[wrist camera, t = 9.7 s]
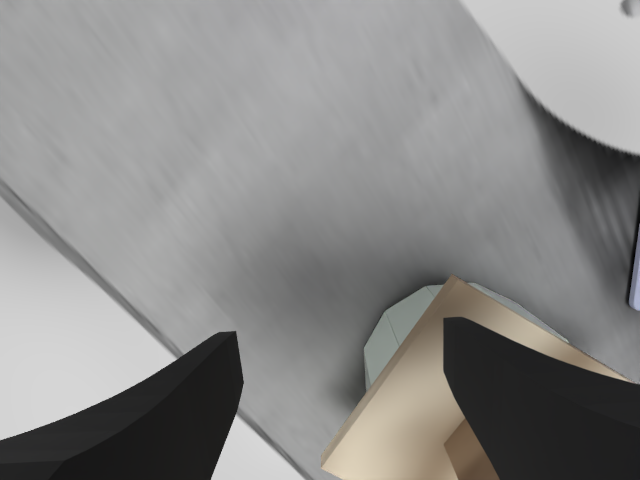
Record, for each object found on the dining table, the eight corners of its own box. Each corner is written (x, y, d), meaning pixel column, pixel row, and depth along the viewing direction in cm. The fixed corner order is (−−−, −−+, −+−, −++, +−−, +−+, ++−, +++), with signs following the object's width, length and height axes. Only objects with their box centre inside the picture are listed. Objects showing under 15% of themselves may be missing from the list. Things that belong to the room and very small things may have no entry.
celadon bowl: (536, 275, 21) (601, 309, 16) (526, 424, 23) (579, 495, 18) (359, 287, 21) (369, 324, 16) (367, 433, 23) (378, 504, 18)
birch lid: (648, 390, 17) (774, 479, 12) (500, 545, 19) (557, 670, 14) (451, 273, 15) (506, 321, 11) (321, 455, 18) (319, 558, 13)
